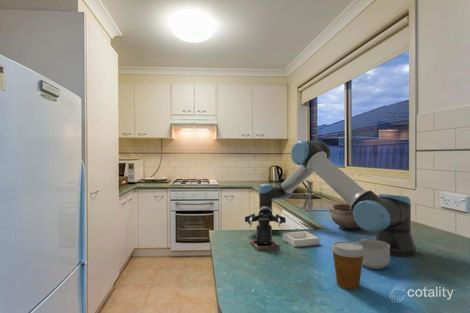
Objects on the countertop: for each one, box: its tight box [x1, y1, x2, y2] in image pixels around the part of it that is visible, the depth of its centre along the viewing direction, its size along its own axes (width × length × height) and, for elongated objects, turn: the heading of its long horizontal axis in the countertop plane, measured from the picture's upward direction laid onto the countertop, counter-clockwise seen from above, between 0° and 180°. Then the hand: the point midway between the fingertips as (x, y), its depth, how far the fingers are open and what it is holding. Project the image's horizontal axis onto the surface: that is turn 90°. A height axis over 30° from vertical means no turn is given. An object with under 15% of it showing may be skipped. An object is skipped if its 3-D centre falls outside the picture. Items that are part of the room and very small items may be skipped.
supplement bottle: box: [255, 218, 273, 246], centre depth 123 cm, size 7×7×12 cm
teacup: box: [355, 238, 391, 270], centre depth 101 cm, size 14×11×8 cm
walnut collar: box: [249, 239, 281, 252], centre depth 122 cm, size 10×10×2 cm
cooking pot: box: [327, 202, 361, 231], centre depth 152 cm, size 25×19×12 cm
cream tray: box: [282, 230, 320, 248], centre depth 128 cm, size 12×12×3 cm
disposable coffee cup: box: [330, 240, 365, 291], centre depth 85 cm, size 10×10×12 cm
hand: (264, 223), depth 132 cm, fingers open, 13 cm apart
